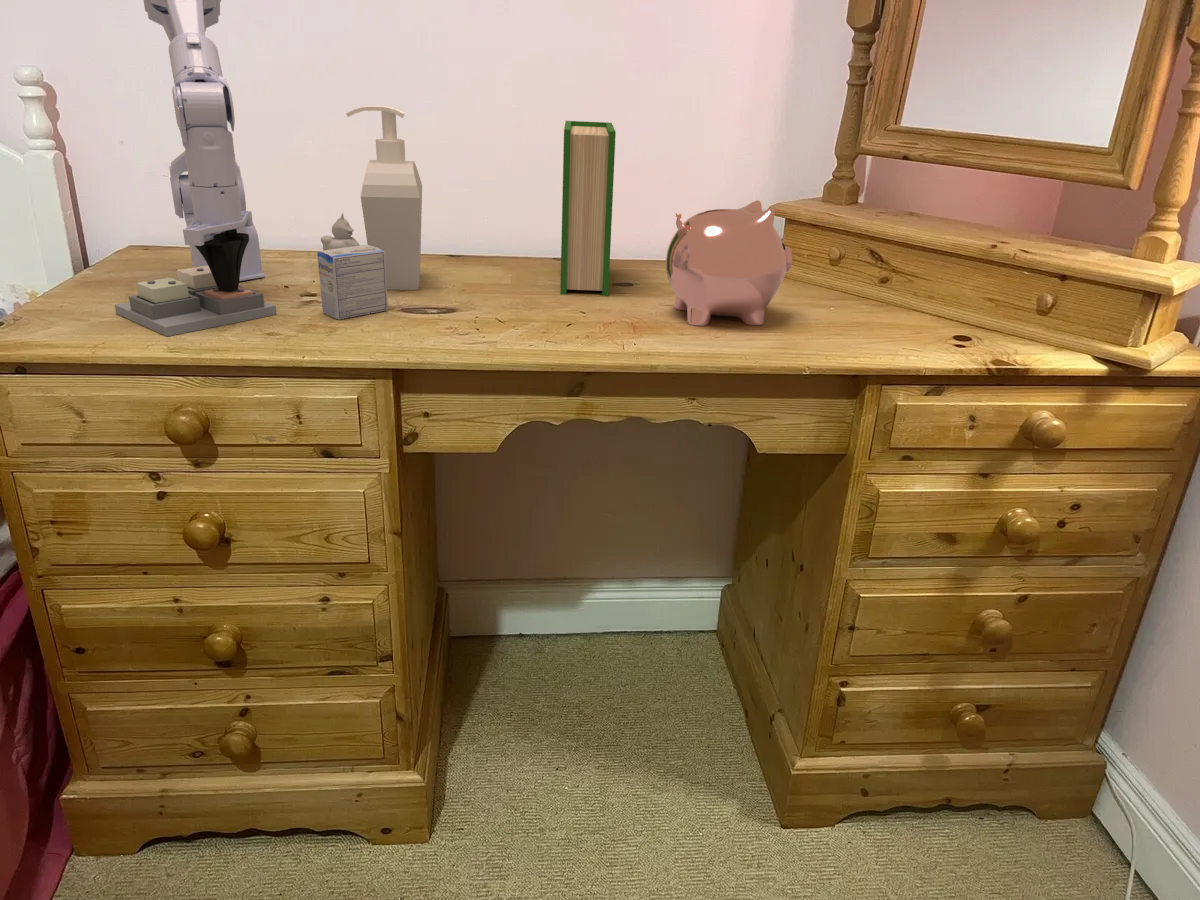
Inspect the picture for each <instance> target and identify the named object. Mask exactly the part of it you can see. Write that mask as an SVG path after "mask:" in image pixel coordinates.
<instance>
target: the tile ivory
mask: <svg viewBox="0 0 1200 900" xmlns="http://www.w3.org/2000/svg"><path fill="white" fill-rule="evenodd" d="M176 275H177V280H178V281H181V282H183V283H186V284H187V286H188V287H190V288H193V289H199V288H205V287H211V286H217V285H216V283H215V280H214V278H213V275H212V273H211V271H210V268H209V266H201V267H194V268H193V267H187V268H182V269H177V270H176Z"/></svg>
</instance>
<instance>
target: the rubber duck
mask: <svg viewBox="0 0 1200 900" xmlns="http://www.w3.org/2000/svg"><path fill="white" fill-rule="evenodd" d="M354 231H355V230H354V229H353V228H352V226H351V225H350V223H349V221H348V219H345V217H344V212H342V213H341V215H340V217H338V218H337V220H336V221H335V222H334V223H333V225H332V226H331V233H332V235H333V236H331V235H323V236H321V237H320V242H321V243H322V251H323V250H330V249H337V248H345V247H353V246H361V245H360V243H359V242H358V241H357V240H356V238H354V237H353V236H352V235H353V232H354Z"/></svg>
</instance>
